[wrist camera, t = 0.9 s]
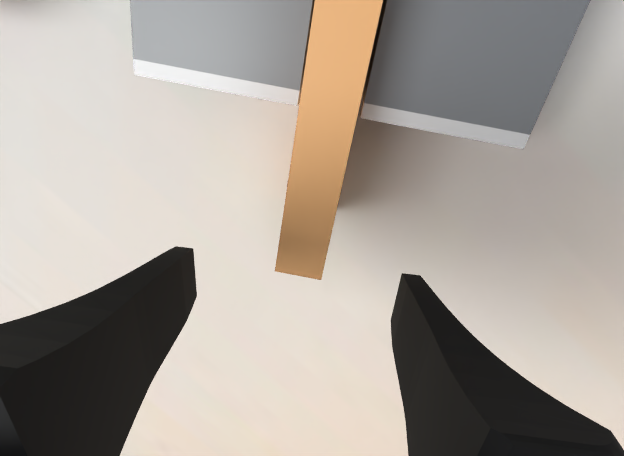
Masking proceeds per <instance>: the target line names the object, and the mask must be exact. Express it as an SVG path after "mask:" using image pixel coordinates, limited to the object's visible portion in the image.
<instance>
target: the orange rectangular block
mask: <svg viewBox="0 0 624 456" xmlns="http://www.w3.org/2000/svg"><path fill="white" fill-rule="evenodd" d="M382 3H383V0H315V2H314V9H313V16H312V23H311V29H310V36H309V43H308V50H307V57H306V63H305V70H304V77H303V84H302V91H301V97H300V104H299V111H298V118H297V125H296V131H295V138H294V145H293V152H292V158H291V165H290V172H289V179H288V184H287V192H286V199H285V206H284V213H283V220H282V226H281V233H280V240H279V247H278V254H277V260H276V267H275V271H277V272H282V273H287V274H292V275H298V276H303V277H308V278H313V279H319V280H321V278H322V274H323V269H324V265H325V260H326V255H327V251H328V246H329V242H330V237H331V233H332V228H333V224H334V219H335V215H336V210H337V206H338V201H339V197H340V194H341V188H342V183H343V179H344V174H345V170H346V165H347V161H348V156H349V152H350V147H351V143H352V138H353V134H354V129H355V125H356V120H357V116H358V111H359V107H360V102H361V98H362V93H363V89H364V84H365V80H366V75H367V71H368V66H369V62H370V57H371V53H372V48H373V44H374V39H375V35H376V30H377V26H378V21H379V16H380V12H381V7H382Z"/></svg>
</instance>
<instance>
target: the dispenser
mask: <svg viewBox="0 0 624 456" xmlns="http://www.w3.org/2000/svg"><path fill="white" fill-rule="evenodd" d="M314 2H315V0H130V8H131V27H132V45H133V64H134V75H138V76H143V77H148V78H153V79H158V80H164V81H169V82H174V83H179V84H185V85H190V86H195V87H200V88H205V89H211V90H216V91H221V92H226V93H232V94H237V95H242V96H247V97H252V98H258V99H263V100H268V101H273V102H278V103H284V104H289V105H294V106H298V104H299V103H300V97H301V90H302V84H303V77H304V70H305V63H306V57H307V50H308V43H309V36H310V29H311V23H312V16H313V9H314ZM589 2H590V0H383V3H382V7H381V12H380V16H379V21H378V26H377V30H376V35H375V39H374V44H373V48H372V53H371V57H370V62H369V66H368V71H367V75H366V80H365V84H364V89H363V93H362V95H363V104H362V108H361V113H360V117H361V118H362V119H367V120H372V121H378V122H383V123H388V124H393V125H399V126H404V127H409V128H414V129H419V130H425V131H430V132H435V133H440V134H446V135H451V136H456V137H461V138H466V139H472V140H477V141H482V142H487V143H493V144H498V145H503V146H508V147H513V148H519V149H524V147H525V145H526V143H527V141H528V138H529V136H530V134H531V132H532V129H533V127H534V125H535V123H536V120H537V118H538V116H539V114H540V112H541V109H542V107H543V105H544V103H545V100H546V98H547V96H548V94H549V91H550V89H551V87H552V85H553V82H554V80H555V78H556V76H557V74H558V71H559V69H560V67H561V65H562V62H563V60H564V58H565V56H566V53H567V51H568V49H569V47H570V45H571V42H572V40H573V38H574V36H575V33H576V31H577V29H578V27H579V24H580V22H581V20H582V18H583V15H584V13H585V11H586V9H587V7H588V4H589Z"/></svg>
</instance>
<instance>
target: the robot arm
mask: <svg viewBox="0 0 624 456" xmlns="http://www.w3.org/2000/svg"><path fill="white" fill-rule="evenodd" d="M196 296H197V292H196V279H195V266H194V253H193V248H184V247H174V248H172V249H170V250H168V251H166V252H165V253H163V254H161V255H159V256H158V257H156V258H154V259H152V260H151V261H149V262H147V263H145V264H144V265H142V266H140V267H138V268H137V269H135V270H133V271H131V272H130V273H128V274H126V275H124V276H122V277H120V278H118V279H116V280H114V281H112V282H110V283H109V284H107V285H105V286H103V287H101V288H99V289H97V290H94V291H92V292H90V293H88V294H86V295H83V296H81V297H78V298H76V299H74V300H71V301H69V302H66V303H64V304H61V305H58V306H56V307H53V308H50V309H47V310H44V311H41V312H38V313H36V314H33V315H30V316H27V317H23V318H20V319H17V320H13V321H10V322H7V323H3V324H0V456H120V453H121V451H122V448H123V446H124V443H125V441H126V438H127V436H128V434H129V431H130V429H131V427H132V424H133V422H134V420H135V417H136V415H137V413H138V410H139V408H140V406H141V404H142V401H143V399H144V397H145V395H146V393H147V390H148V388H149V386H150V384H151V382H152V380H153V378H154V377H155V375H156V373H157V371H158V369H159V368H160V366H161V364H162V363H163V361H164V359H165V357H166V356H167V354H168V352H169V351H170V349H171V347H172V345H173V344H174V342H175V340H176V339H177V337H178V335H179V333H180V332H181V330H182V328H183V326H184V325H185V323H186V321H187V319H188V316H189V314H190V312H191V309H192V307H193V304H194V302H195V299H196ZM391 334H392V347H393V353H394V359H395V364H396V369H397V375H398V380H399V385H400V390H401V396H402V401H403V406H404V413H405V420H406V431H407V442H408V455H409V456H624V450H623V448H622V447H621V445H620V444H619V442H618V441H617V439H616V438H615V436H614V435H613V433H612V432H611V431H610V430H608V429H607V428H605V427H603V426H601V425H599V424H598V423H596V422H594V421H592V420H591V419H589V418H587V417H585V416H583V415H582V414H580V413H578V412H576V411H574V410H573V409H571V408H569V407H568V406H566V405H564V404H563V403H561V402H560V401H558V400H556V399H555V398H553V397H552V396H550V395H549V394H547V393H545V392H544V391H542V390H541V389H539V388H538V387H536V386H535V385H534V384H532V383H531V382H529V381H528V380H526V379H525V378H524V377H522V376H521V375H520V374H518V373H517V372H516V371H514V370H513V369H512V368H510V367H509V366H508V365H506V364H505V363H504V362H503V361H501V360H500V359H499V358H498V357H497V356H495V355H494V354H493V353H492V352H491V351H490V350H488V349H487V348H486V347H485V346H484V345H483V344H482V343H481V342H479V341H478V340H477V339H476V338H475V337H474V336H473V335H472V334H471V333H470V332H469V331H468V330H467V329H466V328H465V327H464V326H463V325H462V324H461V323H460V322H459V321H458V320H457V318H456V317H455V316H454V315H453V314H452V313H451V312H450V311H449V310H448V308H447V307H446V306H445V305H444V304H443V303H442V301H441V300H440V299H439V298H438V297H437V295H436V294H435V293H434V292H433V291H432V289H431V288H430V287H429V286H428V284H427V283H426V282H425V281H424V280H423V278H422V277H421V276H420V275H411V274H403V273H402V275H401V279H400V284H399V288H398V292H397V296H396V300H395V305H394V309H393V313H392V317H391Z"/></svg>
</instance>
